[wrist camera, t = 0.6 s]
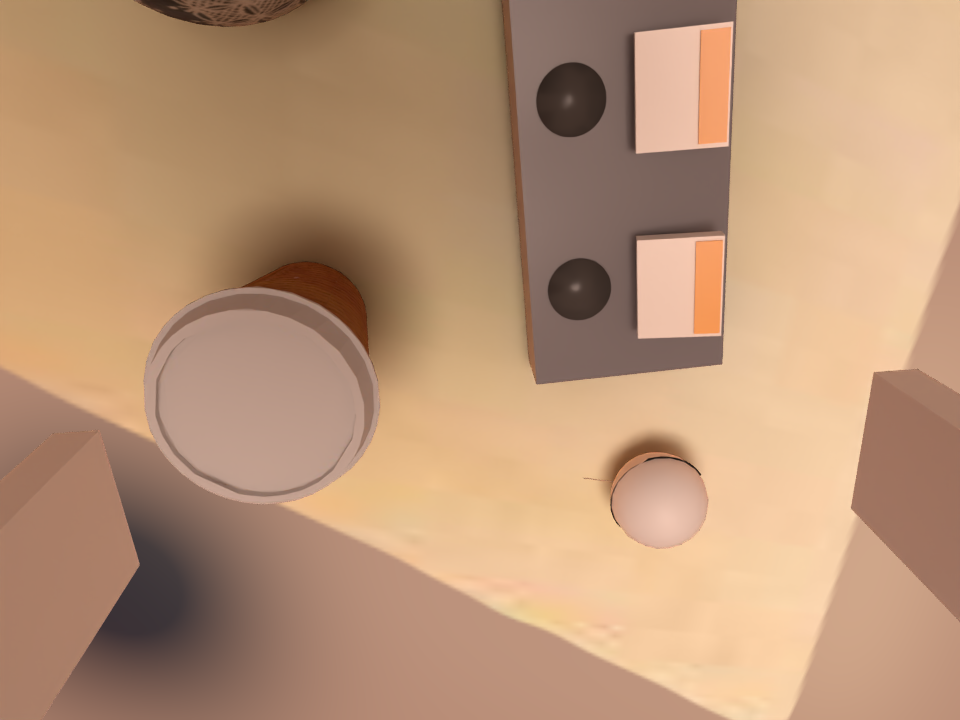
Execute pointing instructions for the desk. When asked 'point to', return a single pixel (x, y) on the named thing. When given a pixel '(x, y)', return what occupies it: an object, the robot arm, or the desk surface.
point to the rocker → (679, 284)
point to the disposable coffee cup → (265, 386)
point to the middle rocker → (682, 87)
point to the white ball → (659, 500)
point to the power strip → (600, 183)
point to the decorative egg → (223, 10)
